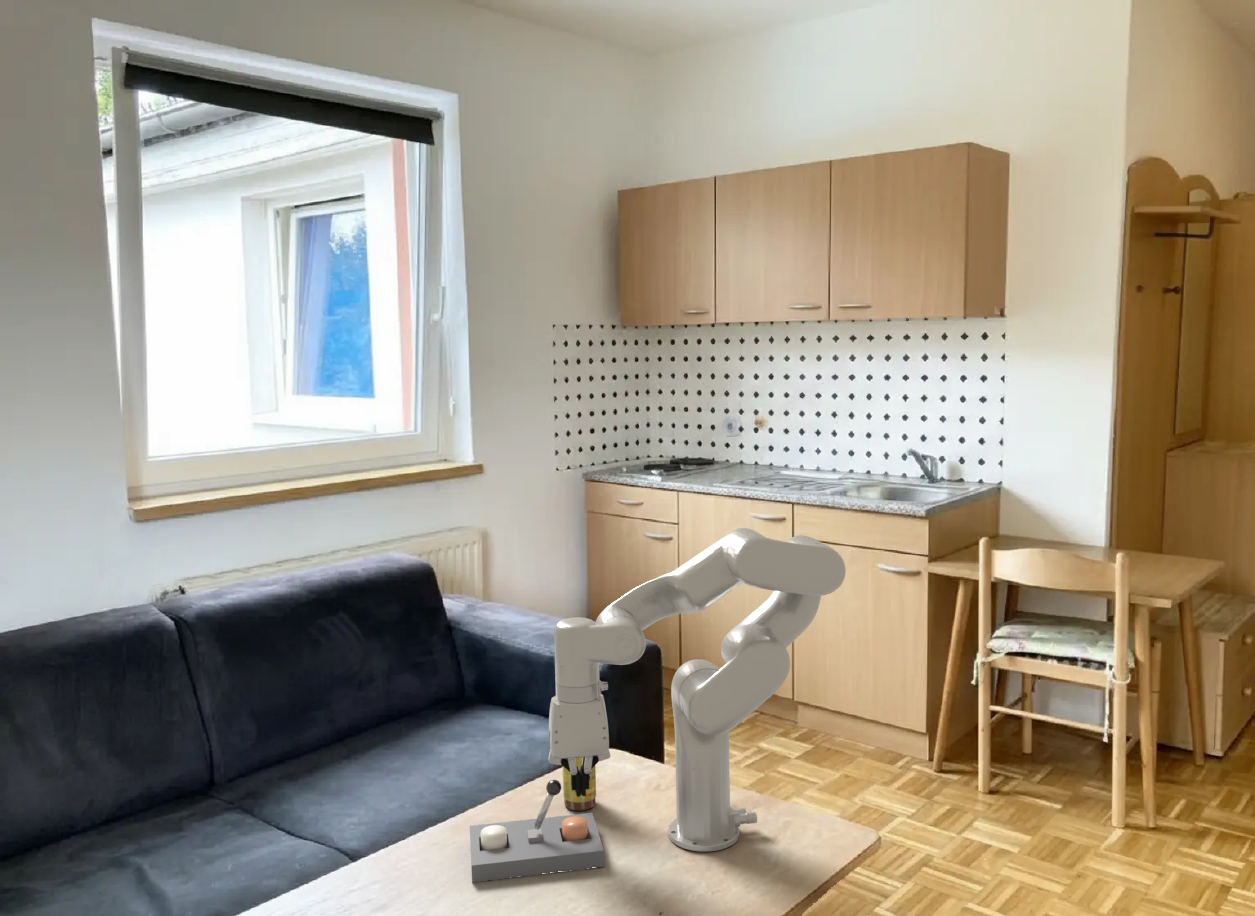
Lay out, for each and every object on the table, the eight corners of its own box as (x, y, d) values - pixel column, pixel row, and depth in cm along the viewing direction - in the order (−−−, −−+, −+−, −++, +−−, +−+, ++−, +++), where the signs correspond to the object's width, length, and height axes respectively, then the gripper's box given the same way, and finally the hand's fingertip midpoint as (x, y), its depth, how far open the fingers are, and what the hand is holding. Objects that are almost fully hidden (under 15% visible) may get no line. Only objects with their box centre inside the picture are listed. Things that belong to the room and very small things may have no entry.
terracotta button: (586, 834, 177) (585, 815, 177) (589, 846, 173) (588, 826, 173) (561, 836, 177) (560, 818, 176) (564, 849, 172) (563, 829, 172)
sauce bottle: (592, 813, 188) (588, 711, 186) (560, 811, 190) (556, 709, 187) (600, 798, 195) (596, 699, 192) (568, 796, 196) (565, 697, 194)
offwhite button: (506, 843, 175) (505, 823, 175) (508, 855, 171) (507, 835, 170) (481, 845, 174) (480, 826, 174) (481, 858, 170) (481, 838, 170)
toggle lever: (542, 827, 175) (562, 779, 175) (543, 835, 172) (564, 786, 172) (528, 823, 174) (549, 775, 174) (529, 830, 172) (550, 781, 172)
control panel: (592, 828, 183) (592, 808, 182) (604, 867, 169) (603, 845, 168) (470, 841, 179) (469, 821, 178) (472, 882, 165) (471, 860, 165)
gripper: (617, 680, 177) (619, 780, 179) (532, 687, 174) (535, 788, 176) (624, 694, 170) (626, 798, 172) (535, 701, 167) (539, 807, 169)
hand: (580, 793), depth 174 cm, fingers closed
